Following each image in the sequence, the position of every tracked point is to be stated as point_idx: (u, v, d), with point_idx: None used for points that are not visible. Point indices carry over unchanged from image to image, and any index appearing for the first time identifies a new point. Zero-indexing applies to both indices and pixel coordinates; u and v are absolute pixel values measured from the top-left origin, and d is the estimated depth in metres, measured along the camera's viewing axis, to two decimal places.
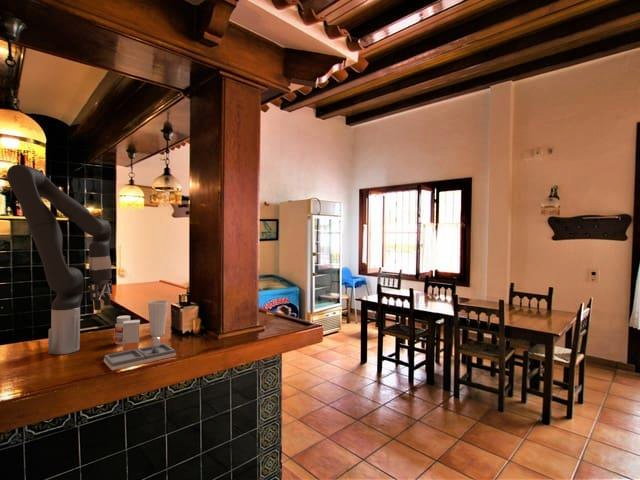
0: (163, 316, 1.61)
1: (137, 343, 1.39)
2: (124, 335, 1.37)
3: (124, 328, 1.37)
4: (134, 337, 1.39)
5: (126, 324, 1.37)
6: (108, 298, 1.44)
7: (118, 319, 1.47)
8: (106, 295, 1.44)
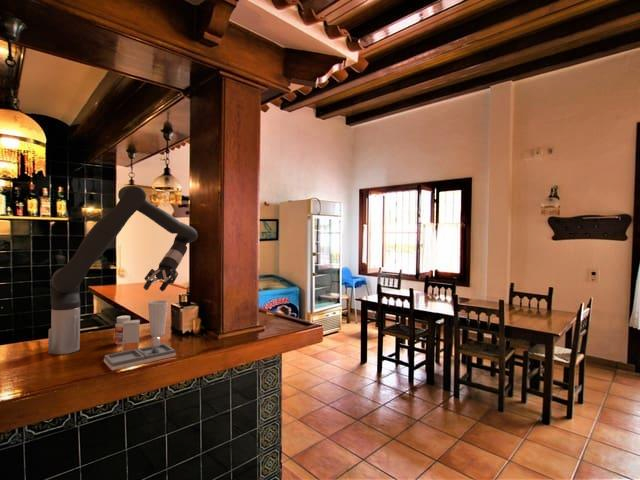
0: (163, 316, 1.61)
1: (137, 343, 1.39)
2: (124, 335, 1.37)
3: (124, 328, 1.37)
4: (134, 337, 1.39)
5: (126, 324, 1.37)
6: (150, 284, 1.54)
7: (118, 319, 1.47)
8: (150, 281, 1.55)
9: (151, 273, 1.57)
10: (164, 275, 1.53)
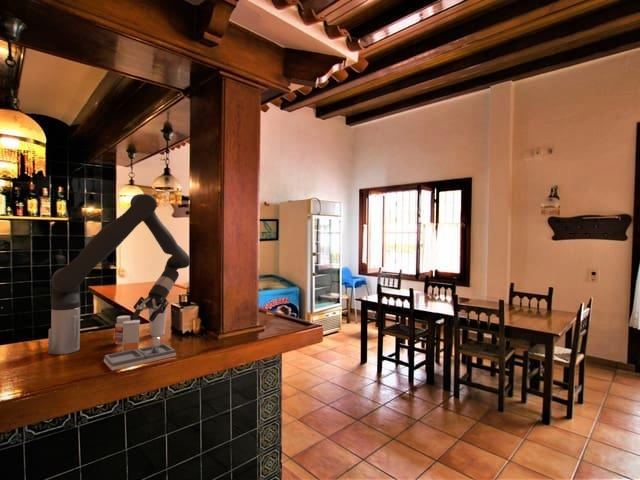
0: (163, 316, 1.61)
1: (137, 343, 1.39)
2: (124, 335, 1.37)
3: (124, 328, 1.37)
4: (134, 337, 1.39)
5: (126, 324, 1.37)
6: (139, 313, 1.49)
7: (118, 319, 1.47)
8: (139, 310, 1.49)
9: (140, 301, 1.52)
10: (154, 304, 1.48)
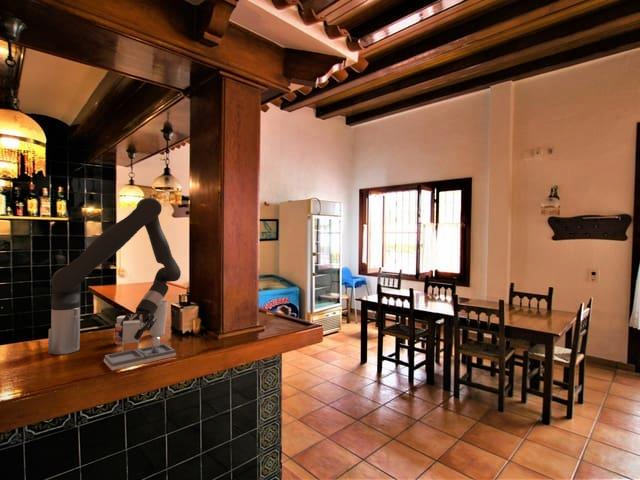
0: (163, 316, 1.61)
1: (137, 343, 1.39)
2: (124, 335, 1.37)
3: (124, 328, 1.37)
4: None
5: (126, 324, 1.37)
6: None
7: (118, 319, 1.47)
8: None
9: (127, 318, 1.45)
10: (140, 321, 1.41)
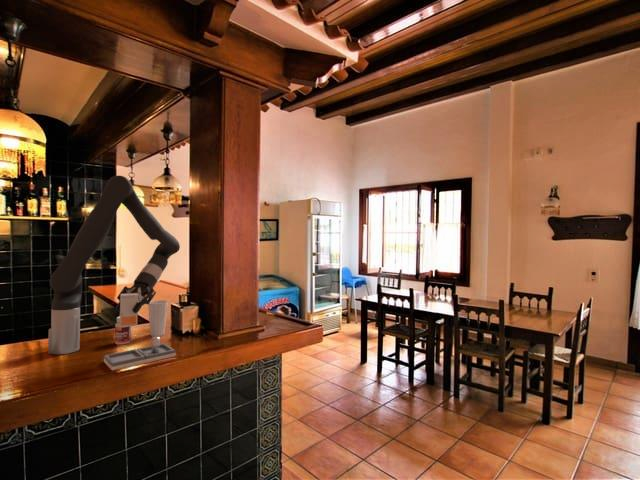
0: (163, 316, 1.61)
1: (135, 317, 1.31)
2: (122, 308, 1.29)
3: (122, 301, 1.29)
4: None
5: (124, 296, 1.29)
6: None
7: (118, 319, 1.47)
8: None
9: (125, 291, 1.37)
10: (139, 294, 1.33)
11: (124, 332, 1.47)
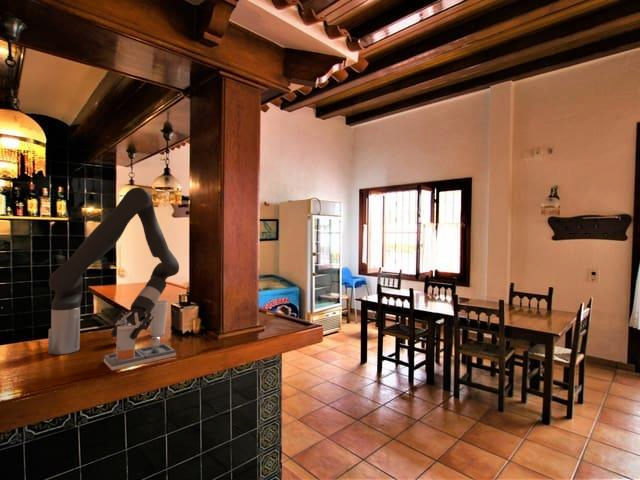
0: (163, 316, 1.61)
1: (133, 350, 1.27)
2: (118, 342, 1.24)
3: (118, 334, 1.24)
4: (129, 343, 1.26)
5: (120, 330, 1.25)
6: None
7: None
8: (119, 325, 1.30)
9: (121, 315, 1.33)
10: (136, 319, 1.28)
11: None
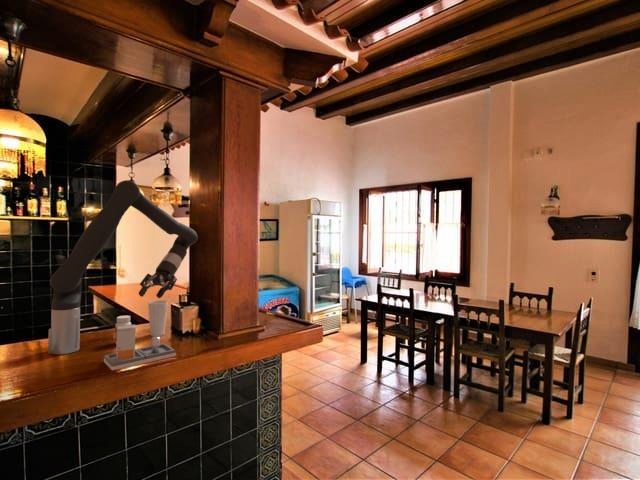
0: (163, 316, 1.61)
1: (133, 350, 1.27)
2: (118, 342, 1.24)
3: (118, 334, 1.24)
4: (129, 343, 1.26)
5: (120, 330, 1.25)
6: (146, 290, 1.42)
7: (118, 319, 1.47)
8: (146, 287, 1.42)
9: (147, 278, 1.45)
10: (161, 280, 1.41)
11: None
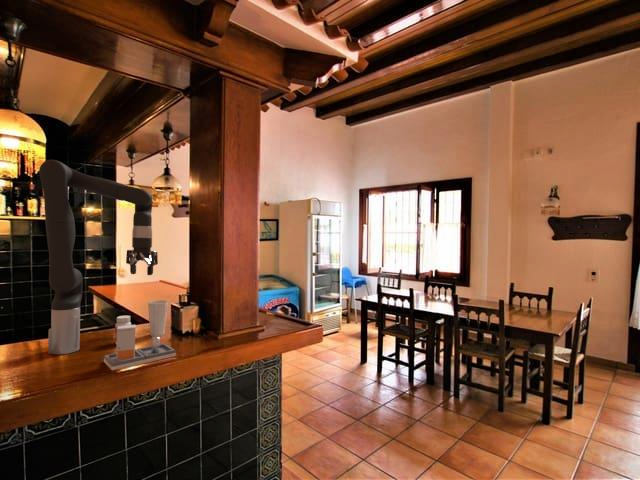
0: (163, 316, 1.61)
1: (133, 350, 1.27)
2: (118, 342, 1.24)
3: (118, 334, 1.24)
4: (129, 343, 1.26)
5: (120, 330, 1.25)
6: (135, 267, 1.49)
7: (118, 319, 1.47)
8: (133, 264, 1.49)
9: (129, 255, 1.48)
10: (144, 259, 1.45)
11: None
